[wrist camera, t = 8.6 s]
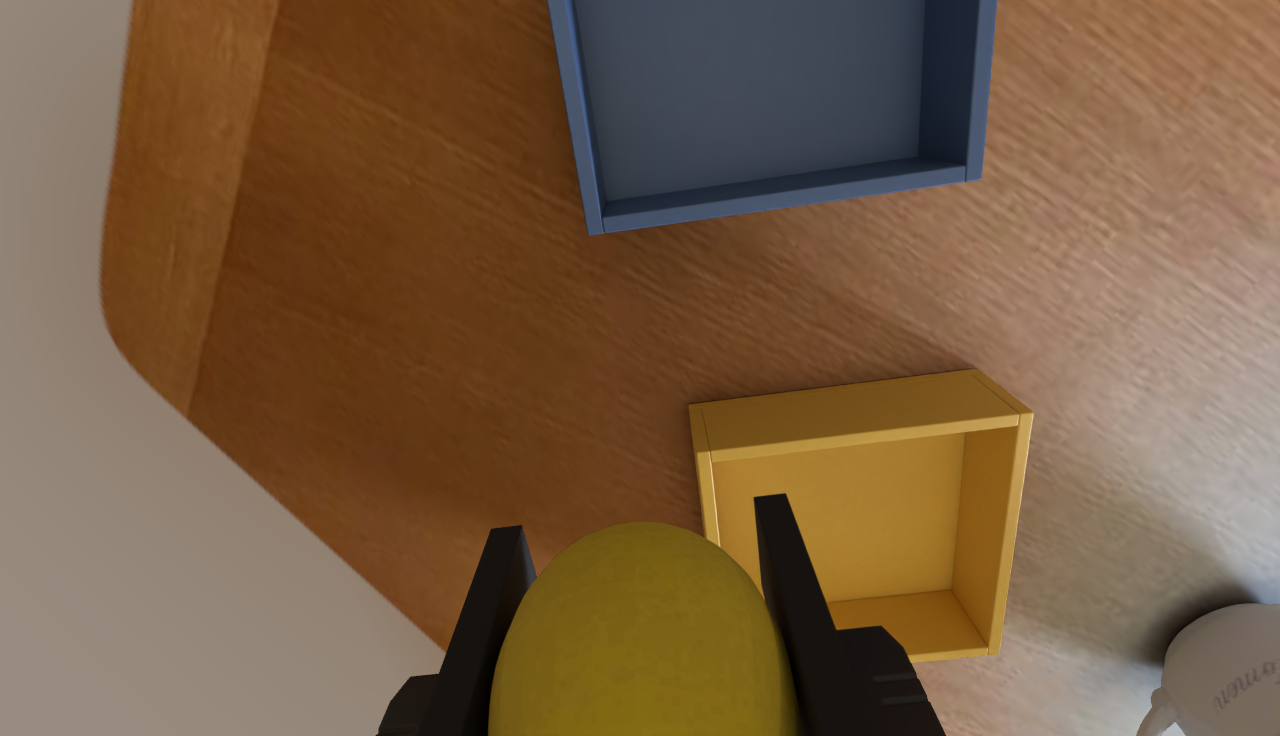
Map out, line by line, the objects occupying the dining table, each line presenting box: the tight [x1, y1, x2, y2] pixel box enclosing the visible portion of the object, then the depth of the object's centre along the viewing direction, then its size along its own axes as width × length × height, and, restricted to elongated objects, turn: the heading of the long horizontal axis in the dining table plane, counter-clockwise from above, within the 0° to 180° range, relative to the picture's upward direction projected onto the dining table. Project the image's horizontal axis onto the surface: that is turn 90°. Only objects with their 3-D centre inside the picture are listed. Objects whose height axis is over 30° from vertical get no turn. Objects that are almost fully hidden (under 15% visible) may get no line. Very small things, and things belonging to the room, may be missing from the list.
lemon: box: [488, 521, 801, 736], centre depth 11 cm, size 6×6×8 cm
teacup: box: [1136, 603, 1280, 736], centre depth 33 cm, size 14×11×8 cm
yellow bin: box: [688, 369, 1034, 663], centre depth 30 cm, size 14×14×5 cm
